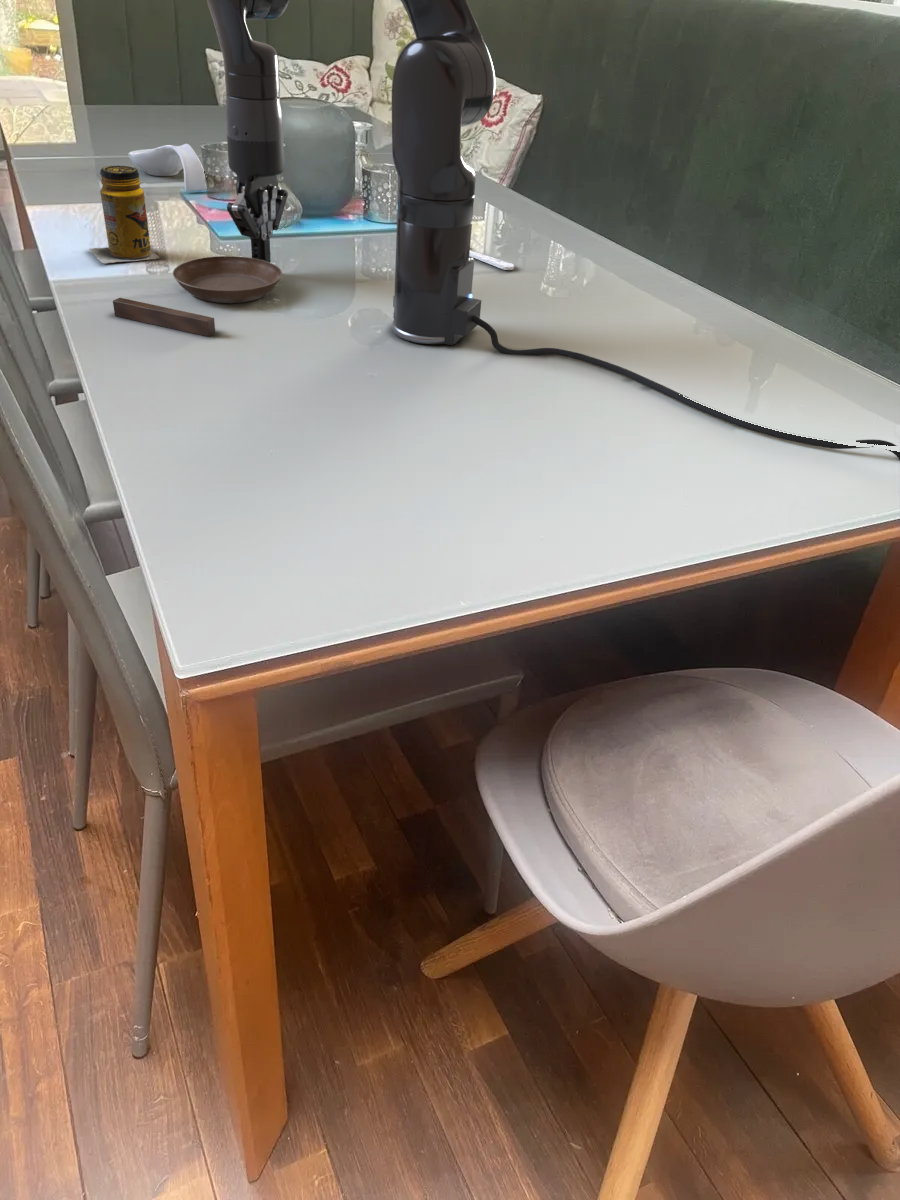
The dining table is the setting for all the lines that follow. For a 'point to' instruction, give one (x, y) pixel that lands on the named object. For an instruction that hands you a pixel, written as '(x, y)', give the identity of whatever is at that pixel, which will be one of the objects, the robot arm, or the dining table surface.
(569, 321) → the dining table surface
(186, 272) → the saucer
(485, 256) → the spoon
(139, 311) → the rail
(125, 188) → the condiment
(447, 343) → the robot arm
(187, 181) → the spoon rest
